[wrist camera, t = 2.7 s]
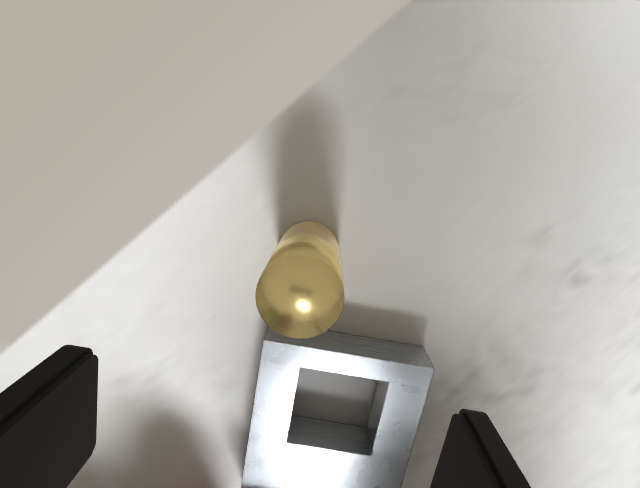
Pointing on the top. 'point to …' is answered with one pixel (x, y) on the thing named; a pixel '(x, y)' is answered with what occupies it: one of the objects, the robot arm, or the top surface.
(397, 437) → the frame
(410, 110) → the top surface
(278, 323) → the pale yellow cylinder
